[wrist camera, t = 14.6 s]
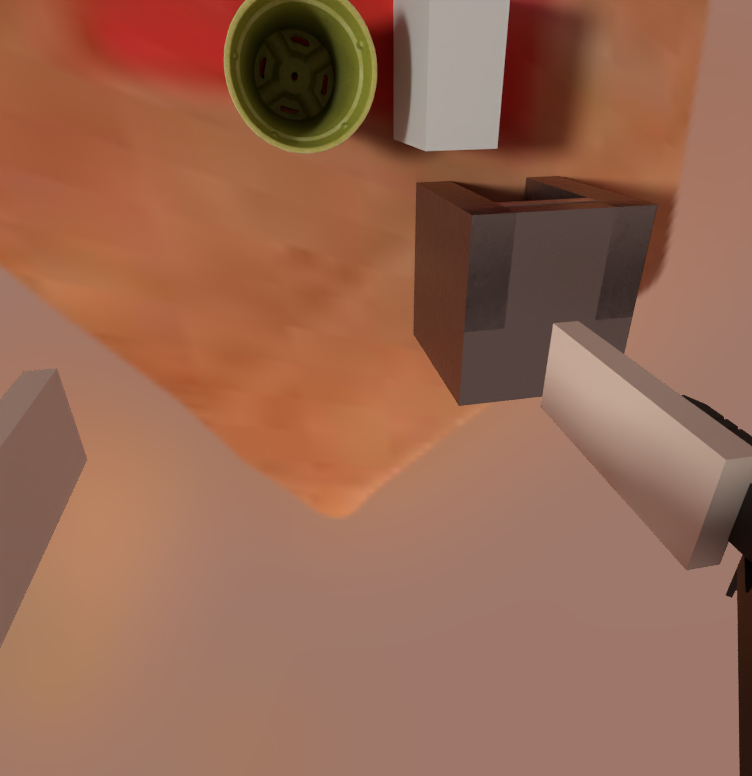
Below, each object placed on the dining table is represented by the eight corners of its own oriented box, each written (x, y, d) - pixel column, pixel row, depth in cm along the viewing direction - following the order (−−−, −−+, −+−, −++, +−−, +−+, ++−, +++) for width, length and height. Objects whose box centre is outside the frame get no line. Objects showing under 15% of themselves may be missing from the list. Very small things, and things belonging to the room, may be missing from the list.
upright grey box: (393, -12, 40) (430, -39, 31) (459, -11, 41) (513, -37, 32) (393, 139, 45) (425, 151, 36) (452, 137, 45) (497, 148, 37)
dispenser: (416, 182, 47) (472, 215, 35) (558, 176, 49) (657, 204, 37) (413, 334, 53) (459, 405, 41) (538, 323, 55) (616, 388, 43)
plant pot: (236, -18, 38) (231, -45, 30) (367, 19, 40) (392, 3, 33) (224, 127, 42) (217, 136, 35) (343, 154, 44) (361, 167, 37)
